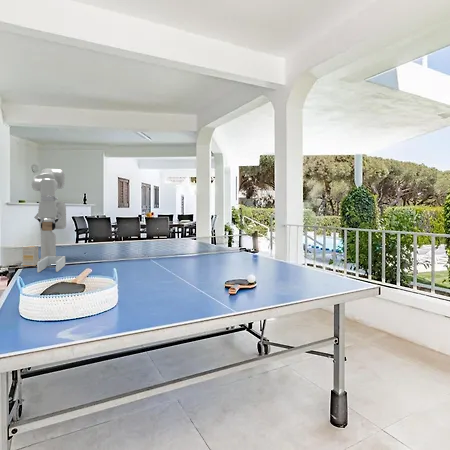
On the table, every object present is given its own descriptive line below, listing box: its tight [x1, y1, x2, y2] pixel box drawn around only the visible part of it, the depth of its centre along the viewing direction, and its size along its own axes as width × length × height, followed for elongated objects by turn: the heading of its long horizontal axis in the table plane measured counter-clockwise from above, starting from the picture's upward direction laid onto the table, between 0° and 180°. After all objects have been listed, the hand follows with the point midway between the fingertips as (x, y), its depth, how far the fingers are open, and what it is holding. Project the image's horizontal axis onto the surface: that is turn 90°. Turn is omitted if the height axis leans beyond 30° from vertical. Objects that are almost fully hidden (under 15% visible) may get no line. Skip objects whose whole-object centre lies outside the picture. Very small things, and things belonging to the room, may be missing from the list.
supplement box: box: [21, 245, 39, 267], centre depth 222 cm, size 8×5×13 cm, turn 84°
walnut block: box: [42, 222, 53, 232], centre depth 205 cm, size 5×5×5 cm
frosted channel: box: [36, 255, 66, 274], centre depth 216 cm, size 24×11×6 cm, turn 15°
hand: (48, 229), depth 206 cm, fingers closed on walnut block, 5 cm apart
